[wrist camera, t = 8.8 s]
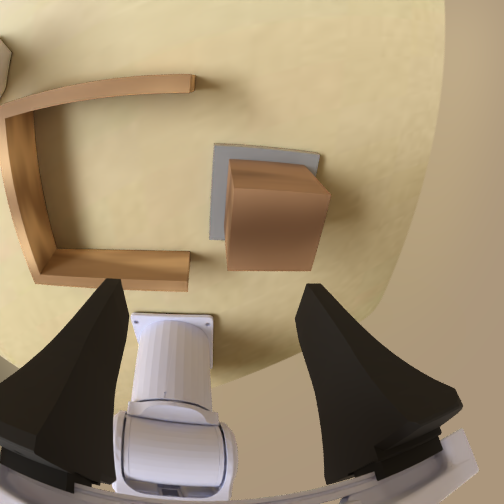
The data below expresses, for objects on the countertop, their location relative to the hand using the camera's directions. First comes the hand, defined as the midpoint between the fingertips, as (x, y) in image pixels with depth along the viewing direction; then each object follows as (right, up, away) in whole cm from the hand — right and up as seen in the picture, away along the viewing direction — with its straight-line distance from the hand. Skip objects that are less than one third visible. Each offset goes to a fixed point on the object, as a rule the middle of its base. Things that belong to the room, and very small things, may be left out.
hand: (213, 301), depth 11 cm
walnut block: (+2, +6, +8) cm, 10 cm away
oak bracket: (-9, +7, +7) cm, 13 cm away
